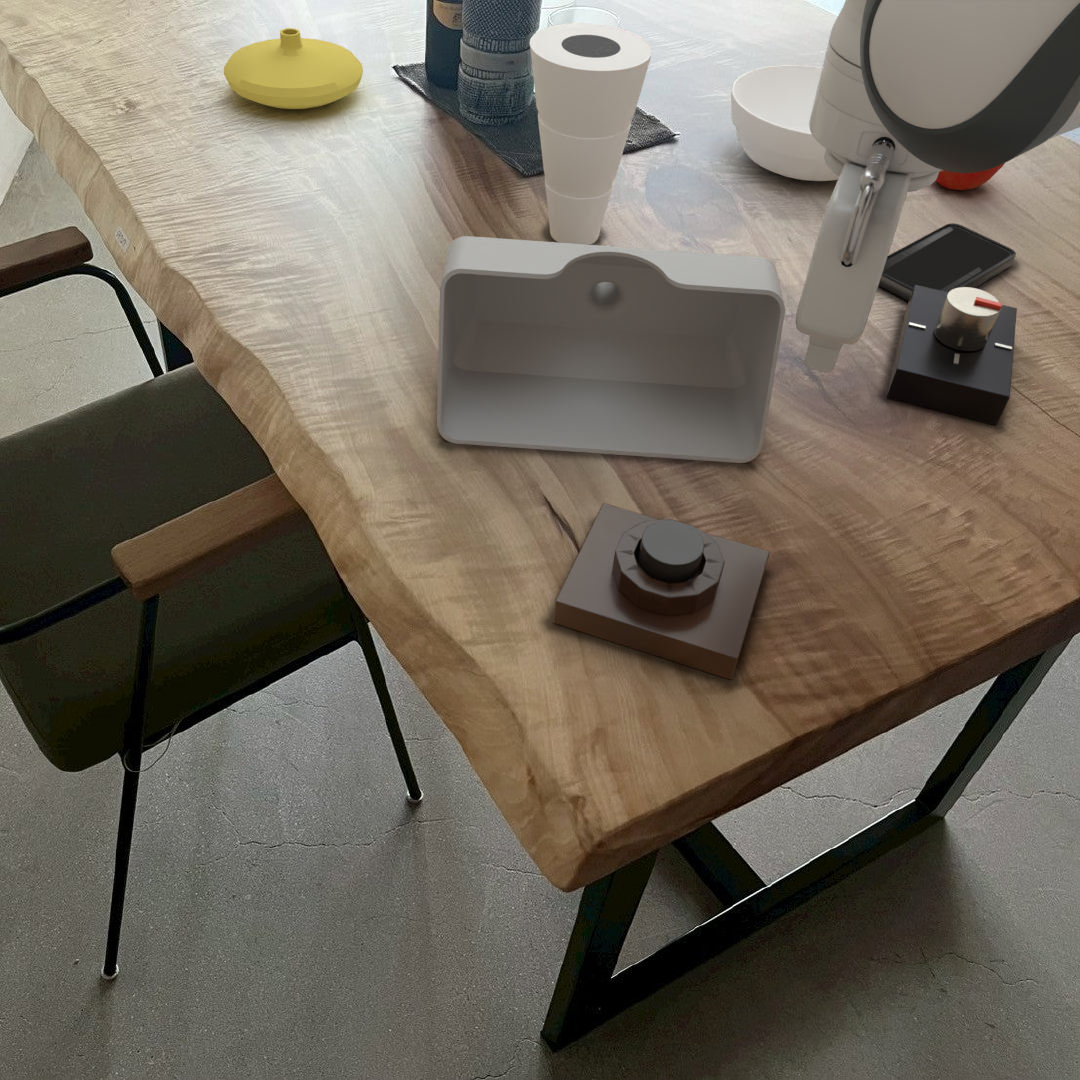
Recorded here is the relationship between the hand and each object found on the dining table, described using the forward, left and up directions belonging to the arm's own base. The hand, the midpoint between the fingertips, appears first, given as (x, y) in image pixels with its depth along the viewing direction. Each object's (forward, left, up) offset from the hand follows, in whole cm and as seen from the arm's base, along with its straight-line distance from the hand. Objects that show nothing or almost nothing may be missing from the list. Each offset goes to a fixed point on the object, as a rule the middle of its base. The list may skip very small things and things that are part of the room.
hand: (833, 324), depth 66 cm
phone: (-8, -40, -16) cm, 44 cm away
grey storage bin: (+17, -8, -16) cm, 24 cm away
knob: (-10, -24, -13) cm, 29 cm away
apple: (-8, -60, -16) cm, 62 cm away
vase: (+67, -47, -16) cm, 83 cm away
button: (+6, +12, -12) cm, 18 cm away
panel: (-10, -24, -16) cm, 30 cm away
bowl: (+9, -57, -16) cm, 60 cm away
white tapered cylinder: (+27, -31, -16) cm, 44 cm away
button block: (+6, +12, -16) cm, 21 cm away
